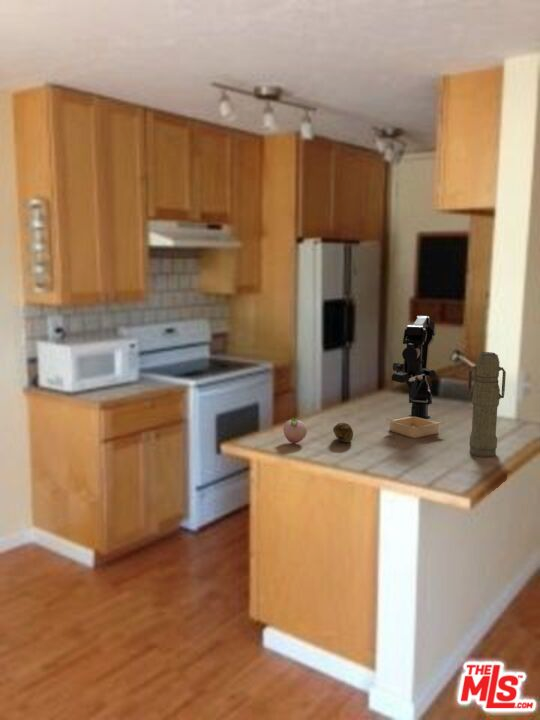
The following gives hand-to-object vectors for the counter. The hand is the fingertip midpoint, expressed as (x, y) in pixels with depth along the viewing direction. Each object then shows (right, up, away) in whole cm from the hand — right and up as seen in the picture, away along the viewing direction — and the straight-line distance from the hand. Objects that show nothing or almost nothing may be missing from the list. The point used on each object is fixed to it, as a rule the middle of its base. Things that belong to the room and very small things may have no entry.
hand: (413, 396), depth 263 cm
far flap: (-6, -10, -8) cm, 14 cm away
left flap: (+3, -10, -10) cm, 14 cm away
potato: (-29, -16, -18) cm, 38 cm away
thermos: (+17, -18, -31) cm, 40 cm away
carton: (-1, -13, -4) cm, 14 cm away
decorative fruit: (-47, -16, -21) cm, 54 cm away
